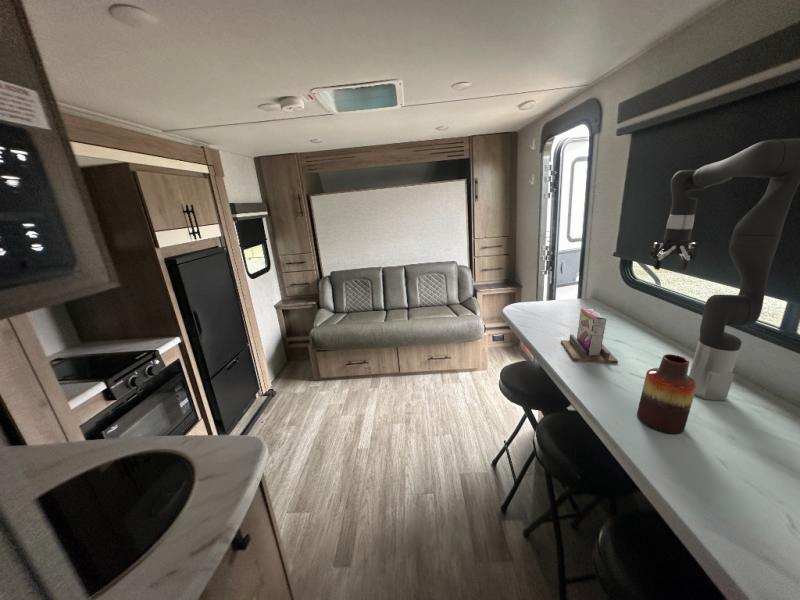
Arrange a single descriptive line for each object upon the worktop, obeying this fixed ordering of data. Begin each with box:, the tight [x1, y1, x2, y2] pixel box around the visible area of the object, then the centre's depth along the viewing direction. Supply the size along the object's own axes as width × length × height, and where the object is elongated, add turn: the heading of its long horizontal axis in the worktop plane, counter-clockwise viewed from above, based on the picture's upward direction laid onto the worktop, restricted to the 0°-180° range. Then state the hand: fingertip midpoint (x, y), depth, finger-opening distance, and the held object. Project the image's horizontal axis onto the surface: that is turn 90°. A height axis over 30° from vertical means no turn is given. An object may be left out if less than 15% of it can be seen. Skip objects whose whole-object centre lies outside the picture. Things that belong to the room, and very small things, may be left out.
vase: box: [636, 353, 697, 435], centre depth 89 cm, size 11×11×20 cm
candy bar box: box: [576, 308, 607, 356], centre depth 130 cm, size 11×5×16 cm, turn 176°
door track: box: [560, 333, 619, 365], centre depth 132 cm, size 16×17×4 cm
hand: (669, 269), depth 124 cm, fingers open, 8 cm apart
